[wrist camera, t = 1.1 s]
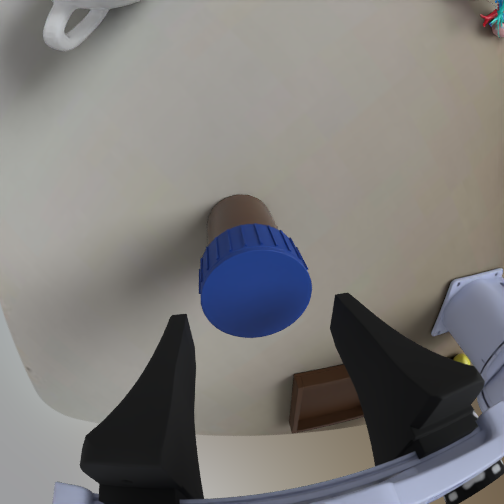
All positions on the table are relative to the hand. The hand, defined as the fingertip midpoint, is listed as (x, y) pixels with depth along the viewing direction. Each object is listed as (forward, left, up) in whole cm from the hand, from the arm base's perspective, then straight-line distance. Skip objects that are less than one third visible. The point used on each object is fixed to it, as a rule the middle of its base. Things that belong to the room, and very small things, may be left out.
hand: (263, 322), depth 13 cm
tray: (-10, +23, -9) cm, 27 cm away
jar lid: (0, 0, -2) cm, 2 cm away
